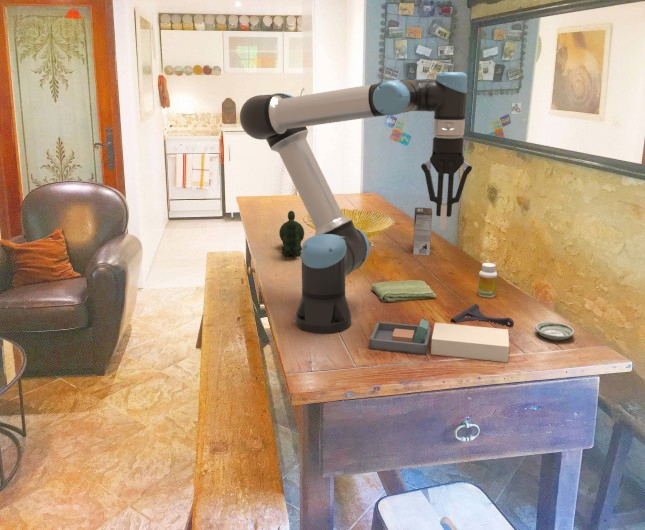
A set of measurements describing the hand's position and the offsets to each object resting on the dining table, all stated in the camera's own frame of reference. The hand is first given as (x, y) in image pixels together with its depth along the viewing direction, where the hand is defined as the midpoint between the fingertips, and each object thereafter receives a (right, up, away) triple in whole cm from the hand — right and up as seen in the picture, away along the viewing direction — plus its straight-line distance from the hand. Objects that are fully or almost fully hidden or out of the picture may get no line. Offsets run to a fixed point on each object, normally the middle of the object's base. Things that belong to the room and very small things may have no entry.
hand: (442, 228), depth 165 cm
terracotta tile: (-11, -27, -5) cm, 29 cm away
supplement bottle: (+19, -19, +29) cm, 40 cm away
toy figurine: (-43, -5, +73) cm, 85 cm away
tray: (-12, -29, -4) cm, 32 cm away
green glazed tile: (-6, -27, -7) cm, 28 cm away
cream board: (+5, -30, -8) cm, 32 cm away
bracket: (+14, -26, +10) cm, 31 cm away
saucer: (+29, -28, -1) cm, 40 cm away
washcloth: (-7, -19, +30) cm, 36 cm away
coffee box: (+6, -5, +75) cm, 75 cm away
